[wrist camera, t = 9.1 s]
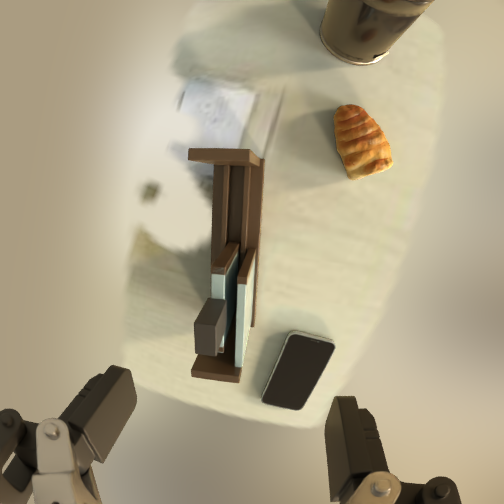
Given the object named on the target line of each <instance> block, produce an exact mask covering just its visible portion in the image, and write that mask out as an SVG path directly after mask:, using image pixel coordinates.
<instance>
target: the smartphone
mask: <svg viewBox="0 0 504 504" xmlns="http://www.w3.org/2000/svg"><path fill="white" fill-rule="evenodd" d="M334 351H335V343H334V341H333V340H331V339H327V338H323V337H319V336H315V335H311V334H307V333H303V332H300V331H292V332H290V333H289V334H288V336H287V338H286V340H285V343H284V345H283V348H282V350H281V352H280V355H279V357H278V359H277V362H276V364H275V366H274V369H273V371H272V373H271V376H270V378H269V380H268V382H267V385H266V387H265V389H264V391H263V394H262V396H261V401H262V403H264V404H267V405H271V406H276V407H280V408H285V409H290V410H296V411H297V410H301V409H302V408H303V407H304V405H305V404H306V402H307V400H308V398H309V397H310V395H311V393H312V392H313V390H314V388H315V386H316V384H317V383H318V381H319V379H320V377H321V375H322V373H323V372H324V370H325V368H326V366H327V364H328V362H329V360H330V358H331V356H332V354H333V353H334Z"/></svg>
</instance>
